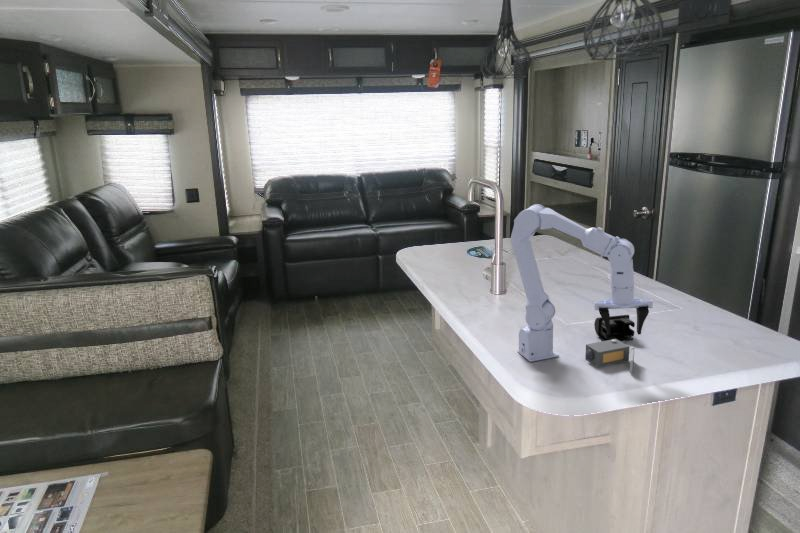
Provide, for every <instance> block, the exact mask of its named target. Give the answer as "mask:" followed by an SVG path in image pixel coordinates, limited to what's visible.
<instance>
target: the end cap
mask: <svg viewBox="0 0 800 533" xmlns="http://www.w3.org/2000/svg"><path fill="white" fill-rule="evenodd" d="M635 324H636V323H635V322H634V321H633V320H631V319H630V315H629V314H619V315H611V316H610V332H611V335H608V334H607V329H606V325H605V323H604V321H603V319H602V317H601V316H600V317H599V316H598V317H596V318H595V320H594V324H593V325H594V331H595V333H596V335H597V337H598V338H599V339H600V340H601V341H607V340H612V339H617V340H619V341H621V342H628V341H629V342H630V341H633V340H634V336H635V330H633V329H632V328H635V326H636V325H635ZM630 326H631V327H632V328H631V327H630Z"/></svg>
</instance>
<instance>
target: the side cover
mask: <svg viewBox="0 0 800 533" xmlns="http://www.w3.org/2000/svg"><path fill="white" fill-rule="evenodd" d="M634 362H635V346H630V356H629V374H632V373H633V368H634Z"/></svg>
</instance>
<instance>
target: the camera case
mask: <svg viewBox="0 0 800 533" xmlns="http://www.w3.org/2000/svg"><path fill="white" fill-rule="evenodd" d="M630 349H631V346H630V345H629V344H626V343H624V341H619V340H617V339H612V340H607V341H603V340H601V341H597V342H592V343H586V344H585V360H586V361H588V362H589V363H591V364H592V365H594V366H595V367H597V368H601V367H602V368H603V367H606V366H611V365H615V364H621V363H625V362H626V363H627V362H630Z"/></svg>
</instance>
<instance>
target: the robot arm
mask: <svg viewBox="0 0 800 533" xmlns="http://www.w3.org/2000/svg"><path fill="white" fill-rule="evenodd" d="M548 229H555V230H557V231H559V232H561V233H565V234H567V235H568V236H571V237H574V238H576V239H578V240H580V241H581V243H582V246H583V247H584V248H586V249H588V250H591V251H593V252H595V253H596V254H598V255H600V256H603V257H605V258H606V257H607V259H608V262H609V263H610V296H611V298H610V299H603V300H596V301H593V304H594V305H593V307H594V308H593V309H594V311H598V312H599V315H600V317H602V319H603V321H604V323H605V325H606V329H607V334H608V335H611V332H610V314H611V313H610V310H616V309H617V310H618V309H619V310H620V309H635V310H636V332H637V335H641V334H642V330H643V327H644V326H643V325H644V323H645V321H646V319H647V317H648V315H649V313H650V311H649V310H650V309H653V308H654V307H653V300H652V299H651V298H650V299H648V298H647V299H646V298H635V278H634V275H635V274H634V271H635V270H634V263H633V262H634V261H633V256H634V255H635V246H634V244H633V243H632V242H631V241H629V240H628V239H626V238H621V237H619V236H618V235H617V236H613V235H611V234H609V233H606V232H605V231H603V230H604V228H602V227H600V226H598V227H593V226H592V227H589V228H587V227H584V226H582V225H581V224H579V223H577V222H576V221H574V220H572V219H569V218H568V217H566V216H564V215H562V214H561V213H558V212H556V211H555V210H554V209H552V208H550V207H548V206H547V207H545V206H544V205H542V204H538V203H534V204H532V205H531V206H530V205H529V207H528V208H526V209H523V210H521V211H520V212H519V213H518V214H517V216H516V217H515V218H514V220H513V227H512V230H511V234H510V235H511V236H510V243H511V246H512V250H513V253H514V254H513V255H514V257H515V258H514V259H515V260H516V264H517V267H518V271H519V275H520V279H521V283H522V286H523V290H524V292H525V293H524V294H525V297H526V300H525V304H524V306H525V307H524V308H525V311H526V314H525V322H526V324H527V325H526V326H525V327H523V328H521V329H519V332H518V350H517V353H518V354H520V355H521V356H523V358H525V359H526V360H527V361H529V362H538V361H542V360H547V359H552V358H558V357H559V356H560V355H559V353H557V352H556V351H554V322H553V320H552V319H553V318H554V316H555V314H556V306H555V304H554V303H553V302H552V301H551V300H550V297H549V296H550V295H548V293H546V292H545V290H544V287H543V285H544V284H543V282H542V278H541V275H540V271H539V267H538V264H537V259H536V257H535V254H534V250H533V247H532V246H533V245H532V242H531V239H533V236H534V235H535V233H536V232H537V231H538V230H548Z"/></svg>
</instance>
